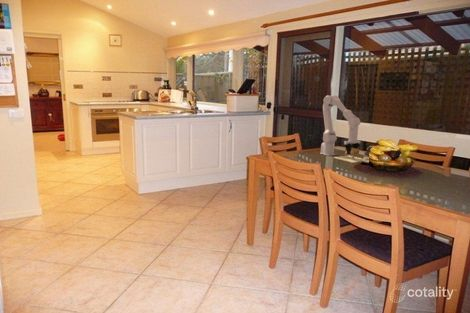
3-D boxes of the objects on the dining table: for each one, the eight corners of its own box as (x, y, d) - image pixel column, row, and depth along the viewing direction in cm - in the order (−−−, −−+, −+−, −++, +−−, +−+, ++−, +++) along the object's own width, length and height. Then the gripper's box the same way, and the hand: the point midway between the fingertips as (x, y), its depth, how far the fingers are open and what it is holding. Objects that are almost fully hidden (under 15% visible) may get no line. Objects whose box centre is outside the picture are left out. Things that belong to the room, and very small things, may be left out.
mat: (333, 157, 253) (333, 157, 253) (348, 156, 261) (349, 155, 261) (352, 163, 238) (352, 162, 238) (368, 161, 246) (368, 160, 246)
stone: (358, 166, 235) (359, 145, 239) (364, 170, 241) (365, 150, 245) (379, 165, 225) (379, 143, 229) (384, 169, 232) (385, 147, 236)
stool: (358, 157, 246) (359, 149, 245) (352, 157, 244) (353, 149, 243) (350, 155, 253) (350, 147, 252) (344, 155, 251) (345, 147, 250)
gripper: (350, 136, 239) (348, 155, 242) (364, 135, 246) (362, 154, 249) (342, 134, 245) (340, 153, 248) (356, 133, 252) (355, 152, 255)
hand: (351, 153), depth 249 cm, fingers closed on stool, 5 cm apart
